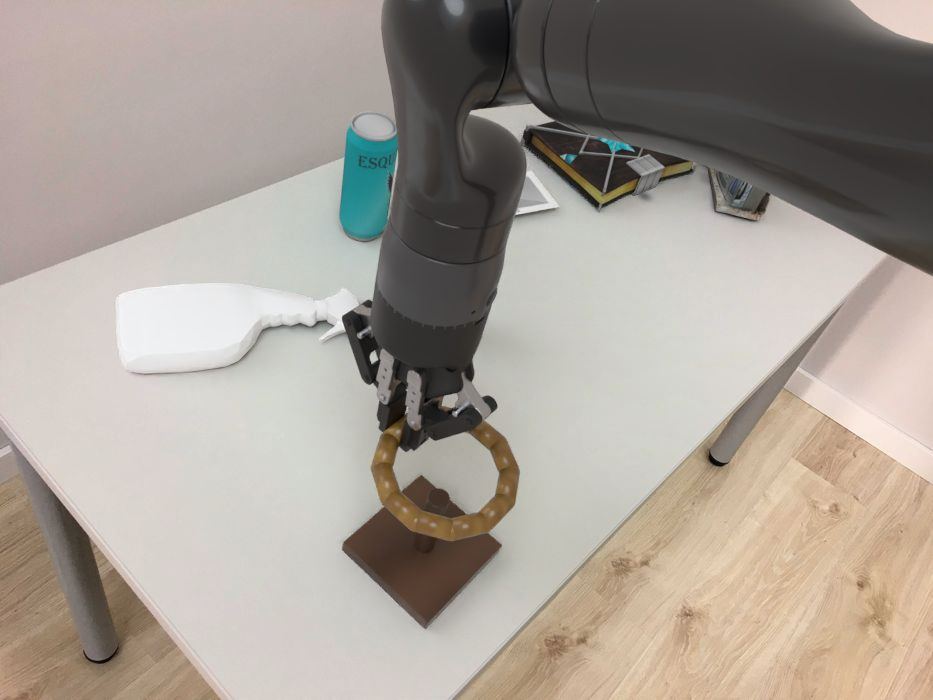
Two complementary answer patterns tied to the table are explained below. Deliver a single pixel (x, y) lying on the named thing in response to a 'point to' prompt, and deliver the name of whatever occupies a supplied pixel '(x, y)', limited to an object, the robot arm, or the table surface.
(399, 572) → the peg post
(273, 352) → the table surface
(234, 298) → the spray bottle
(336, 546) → the table surface
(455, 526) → the ring
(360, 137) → the beverage can
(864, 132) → the robot arm
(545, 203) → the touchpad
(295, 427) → the table surface
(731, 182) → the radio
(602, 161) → the book
